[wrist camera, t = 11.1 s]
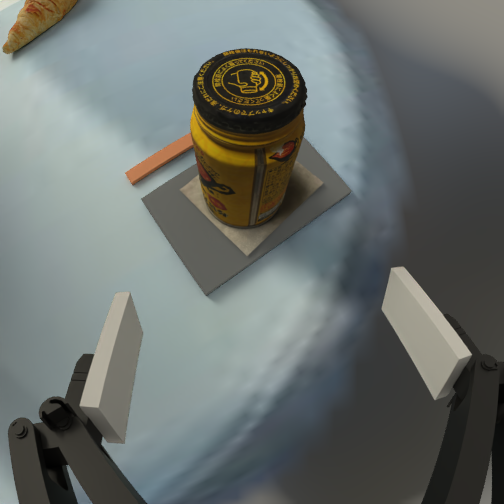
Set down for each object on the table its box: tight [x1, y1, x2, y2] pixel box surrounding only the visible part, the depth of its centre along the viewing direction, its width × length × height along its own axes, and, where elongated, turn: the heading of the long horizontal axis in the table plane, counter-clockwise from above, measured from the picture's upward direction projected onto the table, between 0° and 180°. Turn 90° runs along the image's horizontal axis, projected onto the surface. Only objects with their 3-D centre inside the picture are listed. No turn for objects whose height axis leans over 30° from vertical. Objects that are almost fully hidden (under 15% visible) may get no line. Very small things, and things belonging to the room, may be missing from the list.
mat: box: [142, 137, 351, 296], centre depth 25 cm, size 9×14×1 cm, turn 127°
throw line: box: [125, 133, 194, 185], centre depth 26 cm, size 1×14×1 cm, turn 127°
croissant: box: [3, 0, 78, 54], centre depth 30 cm, size 21×10×8 cm, turn 163°
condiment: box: [180, 48, 323, 256], centre depth 19 cm, size 7×8×12 cm
